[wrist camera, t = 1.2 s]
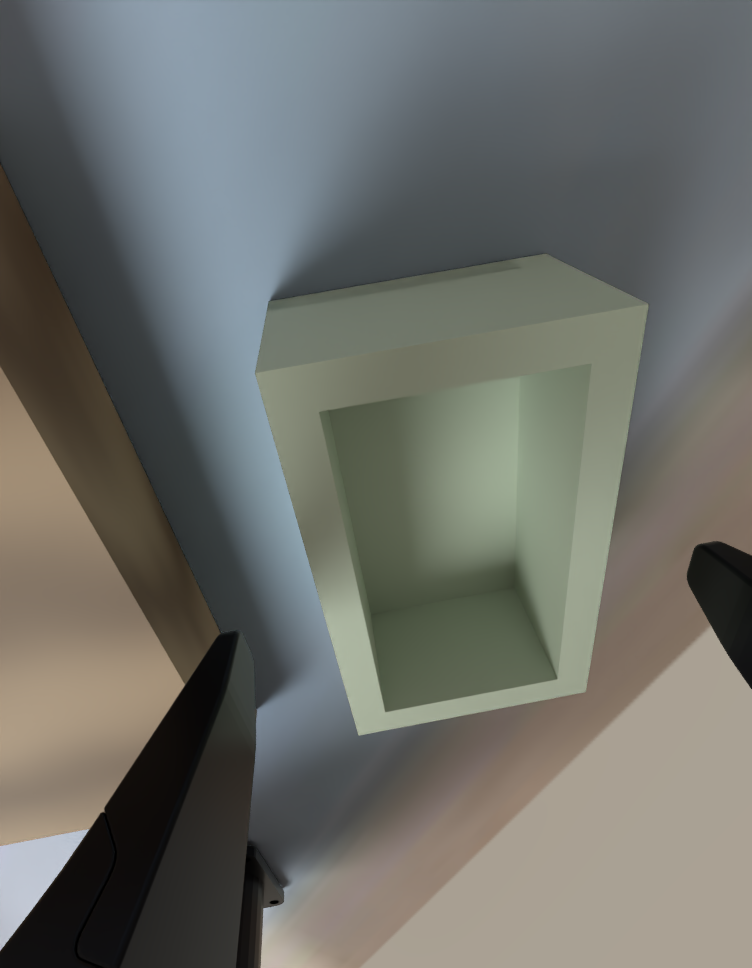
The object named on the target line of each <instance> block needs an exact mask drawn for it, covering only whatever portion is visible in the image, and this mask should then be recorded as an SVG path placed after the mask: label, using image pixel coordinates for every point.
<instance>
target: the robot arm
mask: <svg viewBox="0 0 752 968" xmlns="http://www.w3.org/2000/svg"><path fill="white" fill-rule="evenodd" d="M687 581H688V584H689V586H690V588H691V590H692V592H693V594H694V596H695V597H696V599H697V601H698V603H699V605H700V606H701V608H702V610H703V612H704V614H705V615H706V617H707V619H708V621H709V623H710V624H711V626H712V628H713V630H714V632H715V633H716V635H717V637H718V638H719V640H720V642H721V644H722V645H723V647H724V649H725V651H726V652H727V654H728V656H729V657H730V659H731V660H732V662H733V663H734V665H735V666H736V667H737V669H738V670H739V671H740V673H741V674H742V676H743V677H744V679H745V680H746V682H747V683H748V684H749V686H750V688H751V689H752V555H749V554H747V553H745V552H743V551H741V550H738V549H736V548H734V547H732V546H730V545H727V544H725V543H723V542H719V541H713V542H708V543H703V544H699V545H697V546H696V547H695V548H694V551H693V554H692V557H691V561H690V564H689V568H688V571H687ZM255 751H256V714H255V667H254V660H253V656H252V654H251V651H250V649H249V647H248V644H247V642H246V640H245V637H244V635H243V633H242V632H241V631H239V630H235V631H230V632H225V633H221V634H219V635H218V636H217V637H216V639H215V640H214V642H213V643H212V645H211V646H210V648H209V649H208V651H207V652H206V654H205V655H204V657H203V659H202V660H201V662H200V663H199V665H198V666H197V668H196V669H195V671H194V672H193V674H192V675H191V677H190V678H189V680H188V681H187V683H186V684H185V686H184V687H183V689H182V690H181V692H180V693H179V695H178V696H177V698H176V699H175V701H174V702H173V704H172V705H171V707H170V709H169V710H168V712H167V713H166V715H165V716H164V718H163V719H162V721H161V722H160V724H159V725H158V727H157V728H156V730H155V731H154V733H153V734H152V736H151V737H150V739H149V740H148V742H147V743H146V745H145V746H144V748H143V749H142V751H141V752H140V754H139V755H138V757H137V758H136V760H135V762H134V763H133V765H132V766H131V768H130V769H129V771H128V772H127V774H126V775H125V777H124V778H123V780H122V781H121V783H120V784H119V786H118V787H117V789H116V790H115V792H114V793H113V795H112V796H111V798H110V799H109V801H108V802H107V804H106V805H105V807H104V812H101V813H100V814H99V816H98V817H97V819H96V820H95V822H94V823H93V825H92V826H91V828H90V829H89V831H88V832H87V834H86V835H85V837H84V838H83V840H82V841H81V843H80V844H79V846H78V847H77V848H76V850H75V851H74V853H73V854H72V856H71V857H70V859H69V860H68V862H67V863H66V864H65V866H64V867H63V869H62V870H61V872H60V873H59V874H58V876H57V877H56V878H55V880H54V881H53V882H52V884H51V885H50V886H49V888H48V889H47V890H46V892H45V893H44V894H43V896H42V897H41V898H40V900H39V901H38V903H37V904H36V905H35V907H34V908H33V909H32V911H31V912H30V913H29V914H28V916H27V917H26V918H25V920H24V921H23V922H22V924H21V925H20V926H19V927H18V929H17V930H16V931H15V933H14V934H13V935H12V936H11V938H10V939H9V940H8V942H7V943H6V944H5V946H4V947H3V948H2V949H1V951H0V968H260V966H261V945H262V925H263V908H267V907H272V906H277V905H280V904H282V903H283V902H284V891H283V889H282V887H281V886H280V884H279V883H278V881H277V880H276V878H275V877H274V875H273V873H272V872H271V870H270V869H269V867H268V866H267V864H266V863H265V861H264V859H263V858H262V856H261V855H260V853H259V852H258V850H257V848H255V847H254V846H247V839H248V828H249V817H250V807H251V796H252V785H253V774H254V764H255Z"/></svg>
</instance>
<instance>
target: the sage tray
mask: <svg viewBox="0 0 752 968" xmlns="http://www.w3.org/2000/svg"><path fill="white" fill-rule="evenodd" d="M648 306H649V304H648V303H646V302H644V301H642V300H639V299H637V298H635V297H633V296H631V295H629V294H627V293H625V292H623V291H621V290H619V289H617V288H615V287H613V286H611V285H609V284H607V283H605V282H603V281H601V280H599V279H597V278H595V277H593V276H591V275H589V274H586V273H584V272H582V271H580V270H578V269H576V268H574V267H572V266H570V265H568V264H566V263H564V262H562V261H560V260H558V259H556V258H554V257H552V256H550V255H548V254H540V255H534V256H529V257H523V258H517V259H511V260H505V261H500V262H494V263H488V264H482V265H476V266H471V267H465V268H459V269H453V270H447V271H442V272H436V273H430V274H424V275H418V276H413V277H407V278H401V279H395V280H389V281H384V282H378V283H372V284H366V285H360V286H355V287H349V288H343V289H337V290H331V291H326V292H320V293H314V294H308V295H302V296H296V297H291V298H285V299H279V300H273V301H269V303H268V308H267V313H266V318H265V323H264V329H263V334H262V339H261V344H260V350H259V355H258V360H257V365H256V370H255V375H256V378H257V382H258V385H259V389H260V392H261V396H262V399H263V403H264V406H265V410H266V413H267V417H268V420H269V424H270V427H271V431H272V434H273V438H274V441H275V445H276V448H277V452H278V455H279V459H280V462H281V466H282V469H283V473H284V476H285V480H286V483H287V487H288V490H289V494H290V497H291V501H292V504H293V508H294V511H295V515H296V518H297V522H298V525H299V529H300V532H301V536H302V539H303V543H304V546H305V550H306V553H307V557H308V560H309V564H310V567H311V571H312V574H313V578H314V581H315V585H316V588H317V592H318V595H319V599H320V602H321V606H322V609H323V613H324V616H325V620H326V623H327V627H328V630H329V634H330V637H331V641H332V644H333V648H334V651H335V655H336V658H337V662H338V665H339V669H340V672H341V676H342V679H343V683H344V686H345V690H346V693H347V697H348V700H349V704H350V707H351V711H352V714H353V718H354V721H355V725H356V728H357V732H358V735H364V734H370V733H375V732H380V731H385V730H391V729H396V728H401V727H406V726H411V725H417V724H422V723H427V722H432V721H437V720H443V719H448V718H453V717H458V716H464V715H469V714H474V713H479V712H484V711H490V710H495V709H500V708H505V707H510V706H516V705H521V704H526V703H531V702H537V701H542V700H547V699H552V698H557V697H563V696H568V695H573V694H578V693H584V692H586V687H587V681H588V675H589V669H590V663H591V656H592V650H593V644H594V638H595V632H596V626H597V620H598V613H599V607H600V601H601V595H602V589H603V583H604V577H605V570H606V564H607V558H608V552H609V546H610V540H611V534H612V527H613V521H614V515H615V509H616V503H617V497H618V491H619V484H620V478H621V472H622V466H623V460H624V454H625V448H626V441H627V435H628V429H629V423H630V417H631V411H632V405H633V398H634V392H635V386H636V380H637V374H638V368H639V362H640V355H641V349H642V343H643V337H644V331H645V325H646V319H647V312H648Z"/></svg>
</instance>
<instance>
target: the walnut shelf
mask: <svg viewBox="0 0 752 968" xmlns="http://www.w3.org/2000/svg"><path fill="white" fill-rule="evenodd" d="M219 634H221V633H220V631H219V629H218V627H217V624H216V622H215V620H214V618H213V616H212V614H211V612H210V610H209V607H208V605H207V603H206V601H205V599H204V597H203V595H202V592H201V590H200V588H199V586H198V584H197V582H196V580H195V578H194V575H193V573H192V571H191V569H190V567H189V565H188V563H187V560H186V558H185V556H184V554H183V552H182V550H181V548H180V546H179V543H178V541H177V539H176V537H175V535H174V533H173V531H172V529H171V526H170V524H169V522H168V520H167V518H166V516H165V514H164V511H163V509H162V507H161V505H160V503H159V501H158V499H157V497H156V494H155V492H154V490H153V488H152V486H151V484H150V482H149V479H148V477H147V475H146V473H145V471H144V469H143V467H142V465H141V462H140V460H139V458H138V456H137V454H136V452H135V450H134V447H133V445H132V443H131V441H130V439H129V437H128V435H127V433H126V430H125V428H124V426H123V424H122V422H121V420H120V418H119V415H118V413H117V411H116V409H115V407H114V405H113V403H112V401H111V398H110V396H109V394H108V392H107V390H106V388H105V386H104V383H103V381H102V379H101V377H100V375H99V373H98V371H97V369H96V366H95V364H94V362H93V360H92V358H91V356H90V354H89V351H88V349H87V347H86V345H85V343H84V341H83V339H82V337H81V334H80V332H79V330H78V328H77V326H76V324H75V322H74V319H73V317H72V315H71V313H70V311H69V309H68V307H67V305H66V302H65V300H64V298H63V296H62V294H61V292H60V290H59V287H58V285H57V283H56V281H55V279H54V277H53V275H52V273H51V270H50V268H49V266H48V264H47V262H46V260H45V258H44V256H43V253H42V251H41V249H40V247H39V245H38V243H37V241H36V238H35V236H34V234H33V232H32V230H31V228H30V226H29V224H28V221H27V219H26V217H25V215H24V213H23V211H22V209H21V206H20V204H19V202H18V200H17V198H16V196H15V194H14V192H13V189H12V187H11V185H10V183H9V181H8V179H7V177H6V174H5V172H4V170H3V168H2V166H1V164H0V846H3V845H8V844H13V843H18V842H23V841H29V840H34V839H39V838H44V837H49V836H54V835H60V834H65V833H70V832H75V831H80V830H85V829H90V828H91V826H92V825H93V823H94V822H95V820H96V819H97V817H98V816H99V814H100V813H101V812H104V807H105V805H106V804H107V802H108V801H109V799H110V798H111V796H112V795H113V793H114V792H115V790H116V789H117V787H118V786H119V784H120V783H121V781H122V780H123V778H124V777H125V775H126V774H127V772H128V771H129V769H130V768H131V766H132V765H133V763H134V762H135V760H136V758H137V757H138V755H139V754H140V752H141V751H142V749H143V748H144V746H145V745H146V743H147V742H148V740H149V739H150V737H151V736H152V734H153V733H154V731H155V730H156V728H157V727H158V725H159V724H160V722H161V721H162V719H163V718H164V716H165V715H166V713H167V712H168V710H169V709H170V707H171V705H172V704H173V702H174V701H175V699H176V698H177V696H178V695H179V693H180V692H181V690H182V689H183V687H184V686H185V684H186V683H187V681H188V680H189V678H190V677H191V675H192V674H193V672H194V671H195V669H196V668H197V666H198V665H199V663H200V662H201V660H202V659H203V657H204V655H205V654H206V652H207V651H208V649H209V648H210V646H211V645H212V643H213V642H214V640H215V639H216V637H217V636H218V635H219ZM255 714H256V715H257V710H256V708H255Z"/></svg>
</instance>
